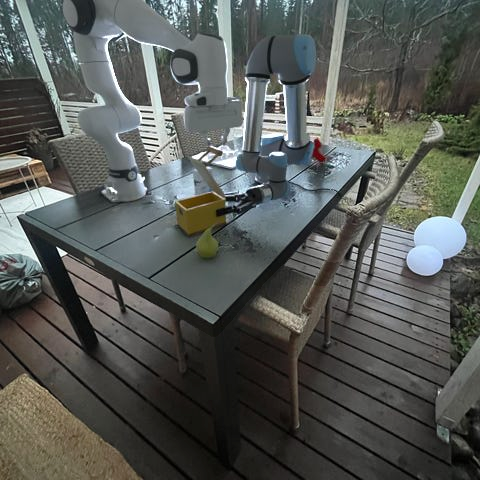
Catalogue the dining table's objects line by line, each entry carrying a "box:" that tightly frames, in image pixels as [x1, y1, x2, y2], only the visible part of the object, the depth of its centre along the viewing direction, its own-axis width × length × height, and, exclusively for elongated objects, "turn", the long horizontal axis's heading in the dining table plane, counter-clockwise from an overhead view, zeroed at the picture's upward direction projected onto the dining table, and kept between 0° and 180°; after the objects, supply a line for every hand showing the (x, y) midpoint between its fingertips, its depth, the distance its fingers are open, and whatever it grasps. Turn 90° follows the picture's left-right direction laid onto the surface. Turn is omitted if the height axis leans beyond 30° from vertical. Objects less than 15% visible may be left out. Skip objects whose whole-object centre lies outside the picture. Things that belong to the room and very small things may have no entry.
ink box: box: [192, 165, 214, 195], centre depth 128 cm, size 8×5×12 cm, turn 135°
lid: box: [187, 145, 226, 199], centre depth 97 cm, size 17×9×9 cm
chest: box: [174, 191, 227, 238], centre depth 101 cm, size 16×9×11 cm, turn 125°
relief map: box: [191, 143, 243, 170], centre depth 177 cm, size 27×35×5 cm
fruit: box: [195, 221, 219, 259], centre depth 84 cm, size 7×8×12 cm
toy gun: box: [311, 136, 327, 165], centre depth 168 cm, size 18×4×15 cm
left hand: (215, 143), depth 92 cm, fingers open, 5 cm apart
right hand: (210, 208), depth 103 cm, fingers closed on chest, 9 cm apart
